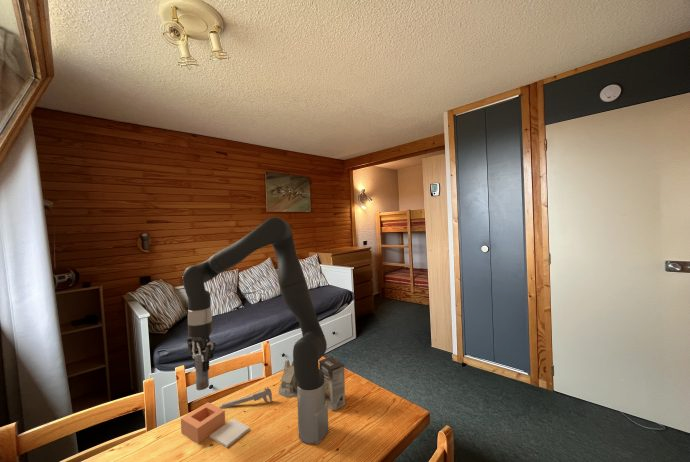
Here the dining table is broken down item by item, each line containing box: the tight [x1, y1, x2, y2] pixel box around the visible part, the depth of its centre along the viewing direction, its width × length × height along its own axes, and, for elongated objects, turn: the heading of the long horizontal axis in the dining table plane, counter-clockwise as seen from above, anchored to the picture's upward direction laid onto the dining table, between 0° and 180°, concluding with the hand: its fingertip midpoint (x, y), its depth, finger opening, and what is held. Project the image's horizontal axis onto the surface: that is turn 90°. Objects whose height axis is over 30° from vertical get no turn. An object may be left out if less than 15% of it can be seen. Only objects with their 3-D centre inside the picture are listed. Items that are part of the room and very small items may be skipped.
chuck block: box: [180, 401, 226, 444], centre depth 95 cm, size 10×10×5 cm
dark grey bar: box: [194, 350, 210, 391], centre depth 95 cm, size 4×4×12 cm
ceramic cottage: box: [278, 359, 297, 398], centre depth 118 cm, size 16×16×15 cm
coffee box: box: [318, 356, 346, 412], centre depth 107 cm, size 9×6×16 cm
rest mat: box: [209, 418, 251, 449], centre depth 92 cm, size 9×9×1 cm
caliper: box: [218, 386, 273, 409], centre depth 108 cm, size 20×1×6 cm, turn 98°
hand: (201, 369), depth 95 cm, fingers closed on dark grey bar, 4 cm apart
